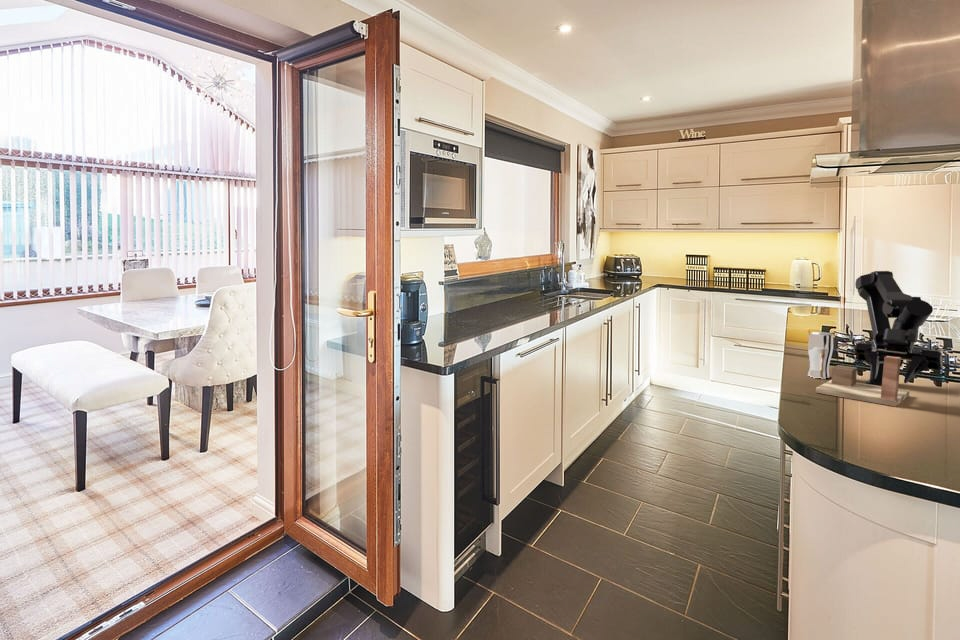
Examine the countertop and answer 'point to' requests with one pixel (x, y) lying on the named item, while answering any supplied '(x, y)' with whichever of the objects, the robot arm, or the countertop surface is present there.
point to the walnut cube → (844, 375)
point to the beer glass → (820, 354)
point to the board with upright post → (872, 387)
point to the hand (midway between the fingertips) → (889, 380)
